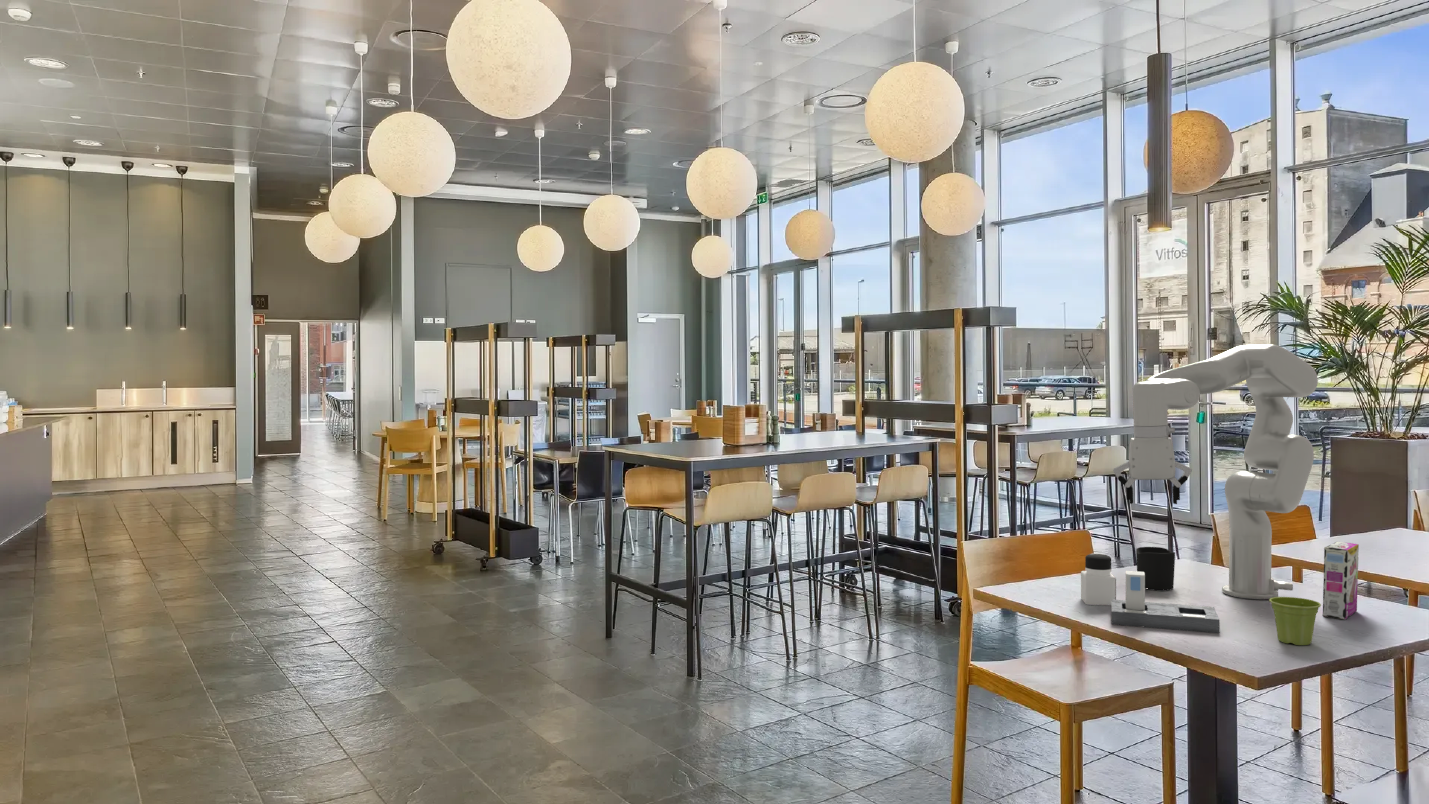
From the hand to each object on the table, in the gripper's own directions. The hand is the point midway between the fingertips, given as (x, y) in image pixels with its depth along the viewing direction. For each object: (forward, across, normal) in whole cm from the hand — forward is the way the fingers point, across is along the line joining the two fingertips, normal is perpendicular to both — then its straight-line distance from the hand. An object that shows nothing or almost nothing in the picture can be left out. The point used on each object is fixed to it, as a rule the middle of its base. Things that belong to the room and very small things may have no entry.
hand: (1153, 503), depth 232 cm
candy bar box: (+28, -40, -8) cm, 49 cm away
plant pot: (+26, -26, +21) cm, 42 cm away
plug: (+25, +5, +13) cm, 29 cm away
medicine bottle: (+26, +13, -2) cm, 29 cm away
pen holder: (+27, -1, -24) cm, 36 cm away
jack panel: (+26, -1, +13) cm, 29 cm away
